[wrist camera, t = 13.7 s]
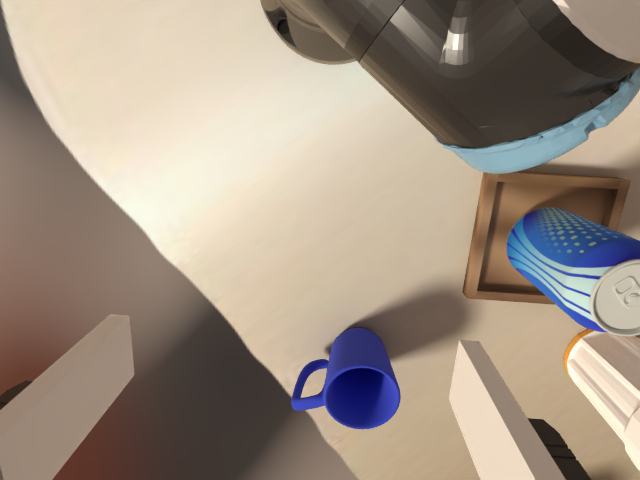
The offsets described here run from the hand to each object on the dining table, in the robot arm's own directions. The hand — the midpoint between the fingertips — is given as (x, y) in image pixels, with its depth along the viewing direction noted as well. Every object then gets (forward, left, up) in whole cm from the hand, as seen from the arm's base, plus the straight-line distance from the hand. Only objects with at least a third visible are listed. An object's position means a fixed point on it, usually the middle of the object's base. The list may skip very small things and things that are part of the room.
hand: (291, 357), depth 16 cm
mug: (+20, +4, -33) cm, 39 cm away
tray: (+3, +26, -33) cm, 42 cm away
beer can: (+3, +25, -32) cm, 41 cm away
